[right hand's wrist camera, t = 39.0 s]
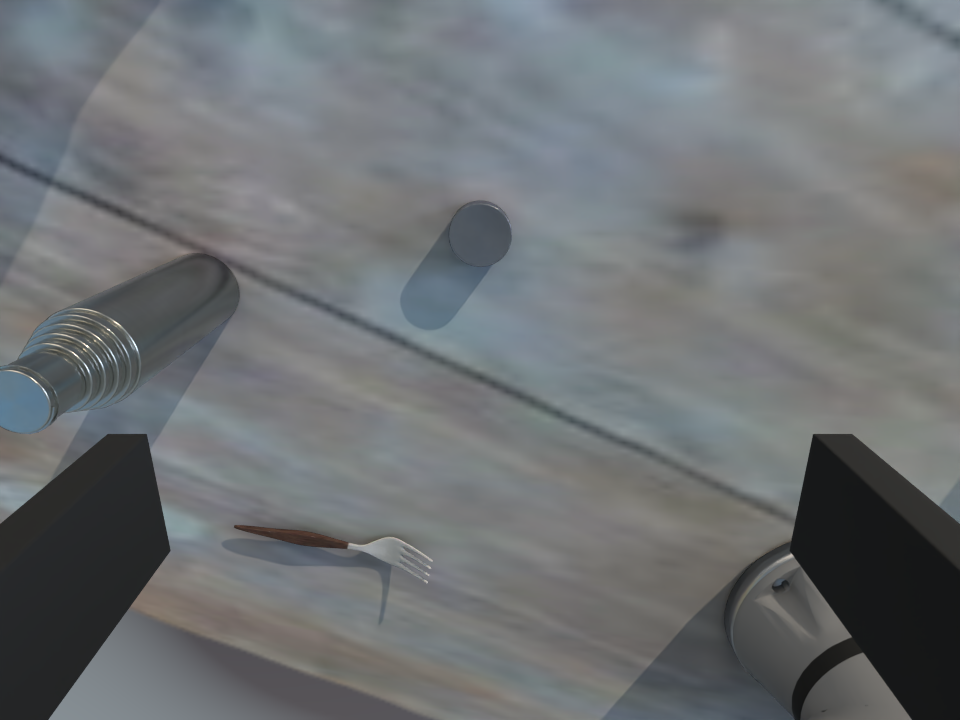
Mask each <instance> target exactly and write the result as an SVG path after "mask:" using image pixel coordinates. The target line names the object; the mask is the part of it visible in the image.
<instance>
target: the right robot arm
mask: <svg viewBox="0 0 960 720" xmlns="http://www.w3.org/2000/svg"><path fill="white" fill-rule="evenodd" d="M169 552H170V546H169V541H168V536H167V531H166V526H165V521H164V516H163V511H162V507H161V502H160V497H159V492H158V487H157V482H156V477H155V472H154V467H153V462H152V457H151V453H150V448H149V443H148V438H147V434H107V435H106V436H105V437H104V438H103V439H101V440H100V441H99V442H98V443H97V444H95V445H94V446H93V447H92V448H91V449H89V450H88V451H87V452H86V453H85V454H83V455H82V456H81V457H80V458H79V459H78V460H76V461H75V462H74V463H73V464H72V465H70V466H69V467H68V468H67V469H66V470H64V471H63V472H62V473H61V474H60V475H58V476H57V477H56V478H55V479H54V480H52V481H51V482H50V483H49V484H48V485H46V486H45V487H44V488H43V489H42V490H40V491H39V492H38V493H37V494H36V495H34V496H33V497H32V498H31V499H30V500H28V501H27V502H26V503H25V504H24V505H22V506H21V507H20V508H19V509H18V510H16V511H15V512H14V513H13V514H12V515H10V516H9V517H8V518H7V519H6V520H5V521H3V522H2V523H1V524H0V720H48V719H49V718H50V716H51V715H52V714H53V712H54V711H55V710H56V708H57V707H58V705H59V704H60V703H61V701H62V700H63V698H64V697H65V696H66V694H67V693H68V692H69V690H70V689H71V687H72V686H73V685H74V683H75V682H76V681H77V679H78V678H79V676H80V675H81V674H82V672H83V671H84V670H85V668H86V667H87V665H88V664H89V663H90V661H91V660H92V658H93V657H94V656H95V654H96V653H97V652H98V650H99V649H100V647H101V646H102V645H103V643H104V642H105V641H106V639H107V638H108V636H109V635H110V634H111V632H112V631H113V629H114V628H115V627H116V625H117V624H118V623H119V621H120V620H121V618H122V617H123V616H124V614H125V613H126V612H127V610H128V609H129V607H130V606H131V605H132V603H133V602H134V600H135V599H136V598H137V596H138V595H139V594H140V592H141V591H142V589H143V588H144V587H145V585H146V584H147V582H148V581H149V580H150V578H151V577H152V576H153V574H154V573H155V571H156V570H157V569H158V567H159V566H160V565H161V563H162V562H163V560H164V559H165V558H166V556H167V555H168V553H169ZM725 629H726V633H727V637H728V639H729V641H730V644H731V646H732V648H733V650H734V652H735V654H736V656H737V658H738V660H739V662H740V663H741V665H742V666H743V667H744V669H745V670H746V671H747V672H748V673H749V674H750V675H751V676H752V677H753V678H754V679H756V680H757V681H758V682H759V683H760V684H762V686H763V687H764V688H765V689H766V690H767V691H768V692H769V693H770V694H771V695H772V696H773V697H774V698H775V699H776V700H777V701H778V702H779V703H780V704H781V705H782V706H783V707H784V708H785V709H786V710H787V711H788V712H789V713H790V714H791V715H792V716H793V717H794V719H795V720H960V524H959V523H958V522H957V521H955V520H954V519H953V518H952V517H951V516H950V515H948V514H947V513H946V512H945V511H944V510H942V509H941V508H940V507H939V506H938V505H936V504H935V503H934V502H933V501H932V500H930V499H929V498H928V497H927V496H926V495H924V494H923V493H922V492H921V491H920V490H918V489H917V488H916V487H915V486H914V485H912V484H911V483H910V482H909V481H908V480H906V479H905V478H904V477H903V476H902V475H900V474H899V473H898V472H897V471H896V470H894V469H893V468H892V467H891V466H890V465H888V464H887V463H886V462H885V461H884V460H882V459H881V458H880V457H879V456H878V455H877V454H875V453H874V452H873V451H872V450H871V449H869V448H868V447H867V446H866V445H865V444H863V443H862V442H861V441H860V440H859V439H857V438H856V437H855V436H854V435H853V434H813V438H812V443H811V448H810V453H809V457H808V462H807V467H806V472H805V477H804V482H803V487H802V492H801V497H800V502H799V506H798V511H797V516H796V521H795V526H794V531H793V536H792V541H791V542H789V543H787V544H784V545H782V546H780V547H778V548H776V549H774V550H772V551H770V552H769V553H767V554H766V555H764V556H763V557H761V558H760V559H758V560H757V561H756V562H755V563H754V564H752V565H751V566H750V567H749V568H748V569H747V570H746V571H745V572H744V574H743V575H742V576H741V577H740V579H739V580H738V581H737V583H736V584H735V586H734V588H733V589H732V591H731V594H730V596H729V598H728V601H727V604H726V609H725Z"/></svg>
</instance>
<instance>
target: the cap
mask: <svg viewBox="0 0 960 720" xmlns="http://www.w3.org/2000/svg"><path fill="white" fill-rule="evenodd" d="M511 239H512V231H511V226H510V223H509V220H508V218H507V216H506V214H505V213H504V211H503V210H502V209H501V208H499V207H498V206H497V205H495V204H493V203H491V202H487V201H473V202H470V203H468V204H466V205H464V206H463V207H461V208H460V209H459V210H458V211H457V212H456V214H455V215H454V217H453V219H452V222H451V225H450V230H449V241H450V245H451V247H452V250H453V251H454V253H455V254H456V256H457V257H458V258H459V259H460V260H462V261H463V262H465V263H467V264H469V265H472V266H477V267H484V266H489V265H492V264H494V263H496V262H498V261H499V260H500V259H502V258H503V257H504V255H505V254H506V253H507V251H508V249H509V247H510V244H511Z"/></svg>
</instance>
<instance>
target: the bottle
mask: <svg viewBox="0 0 960 720" xmlns="http://www.w3.org/2000/svg"><path fill="white" fill-rule="evenodd" d="M238 302H239V287H238V284H237V281H236V278H235V277H234V275H233V273H232V272H231V271H230V269H229V268H228V267H227V266H226V265H225V264H224V263H222V262H221V261H220V260H218V259H216V258H214V257H212V256H209V255H206V254H200V253H192V254H187V255H184V256H181V257H179V258H177V259H175V260H173V261H170V262H168V263H166V264H164V265H161V266H159V267H157V268H155V269H152V270H150V271H148V272H146V273H143V274H141V275H139V276H137V277H134V278H132V279H130V280H128V281H125V282H123V283H121V284H119V285H117V286H114V287H112V288H110V289H108V290H105V291H103V292H101V293H99V294H96V295H94V296H92V297H90V298H87V299H85V300H83V301H81V302H78V303H76V304H74V305H72V306H69V307H67V308H65V309H63V310H61V311H58V312H56V313H54V314H53V315H51V316H49V317H48V318H47V319H46V320H45V321H44V322H42V323H41V324H40V325H39V326H38V327H37V328H36V329H35V331H34V332H33V334H32V336H31V338H30V339H29V341H28V343H27V345H26V346H25V347H24V349H23V351H22V353H21V354H20V356H19V358H18V359H17V360H16V361H14V362H12V363H10V364H8V365H4V366H0V427H2V428H4V429H6V430H9V431H12V432H16V433H20V434H32V433H37V432H40V431H42V430H44V429H45V428H47V427H48V426H50V425H51V424H52V423H53V422H54V421H55V420H56V419H57V417H59V416H60V415H62V414H63V413H69V412H77V411H83V410H92V409H100V408H104V407H108V406H110V405H112V404H114V403H117V402H120V401H122V400H123V399H125V398H127V397H128V396H129V395H130V394H132V393H133V392H134V391H136V390H137V389H138V388H139V387H141V386H142V385H143V384H145V383H146V382H147V381H149V380H150V379H151V378H152V377H154V376H155V375H156V374H158V373H159V372H160V371H161V370H163V369H164V368H165V367H167V366H168V365H169V364H170V363H172V362H173V361H174V360H176V359H177V358H178V357H179V356H181V355H182V354H183V353H185V352H186V351H187V350H188V349H190V348H191V347H192V346H194V345H195V344H196V343H197V342H199V341H200V340H201V339H203V338H204V337H205V336H206V335H208V334H209V333H210V332H212V331H213V330H214V329H216V328H217V327H218V326H219V325H221V324H222V323H223V322H225V321H226V320H227V319H228V318H229V317H231V315H232V314H233V313H234V312H235V310H236V308H237V306H238Z"/></svg>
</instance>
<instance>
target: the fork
mask: <svg viewBox="0 0 960 720" xmlns="http://www.w3.org/2000/svg"><path fill="white" fill-rule="evenodd" d="M234 528H236V529H239V530H242V531H246V532H250V533H254V534H258V535H262V536H266V537H271V538H275V539H278V540H282V541H286V542H290V543H294V544H299V545H304V546H312V547H326V548H342V549H354V550H360V551H363V552H366V553H368V554H370V555H372V556H374V557H376V558H378V559H379V560H382V561H384V562H386V563H388V564H391V565H393V566H396V567H399V568H401V569H403V570H405V571H407V572H409V573H410V574H412V575H414V576H416V577H417V578H419V579H421V580H422V581H424V582H425V583H428V582H427V581H426V580H425V579H423V578H422V577H421V576H419V575H418V574H416V573H415V572H413V571H412V570H410V569H409V568H407V567H406V566H404V565H403V564H401V562H404V563H406V564H408V565H410V566H412V567H414V568H416V569H417V570H419V571H421V572H422V573H424V574H426V575H427V576H430V575H429V574H428V573H426V572H425V571H424V570H422V569H421V568H419V567H418V566H416V565H415V564H413V563H412V562H410V561H409V560H407V559H406V558H404V557H403V556H402V555H406V556H408V557H410V558H412V559H414V560H415V561H417V562H419V563H421V564H422V565H424V566H426V567H427V568H429V569H431V567H430V566H428V565H427V564H425V563H424V562H422V561H421V560H419V559H418V558H417V557H415V556H413V555H412V554H410V553H409V552H407V551H406V550H405V549H404V547H405V548H408V549H410V550H412V551H414V552H415V553H417V554H419V555H421V556H423V557H424V558H426V559H428V560H429V561H431V562H433V560H431V559H430V558H429V557H427V556H426V555H424V554H423V553H421V552H420V551H418V550H417V549H415V548H414V547H412V546H410V545H409V544H407V543H405V542H403V541H402V540H400V539H397V538H394V537H385V538H381V539H378V540H376V541H373V542H371V543H368V544H365V545H356V544H352V543H348V542H345V541H341V540H338V539H334V538H331V537H327V536H324V535H320V534H316V533H312V532H307V531H299V530H286V529H273V528H264V527H255V526H244V525H234Z"/></svg>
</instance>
